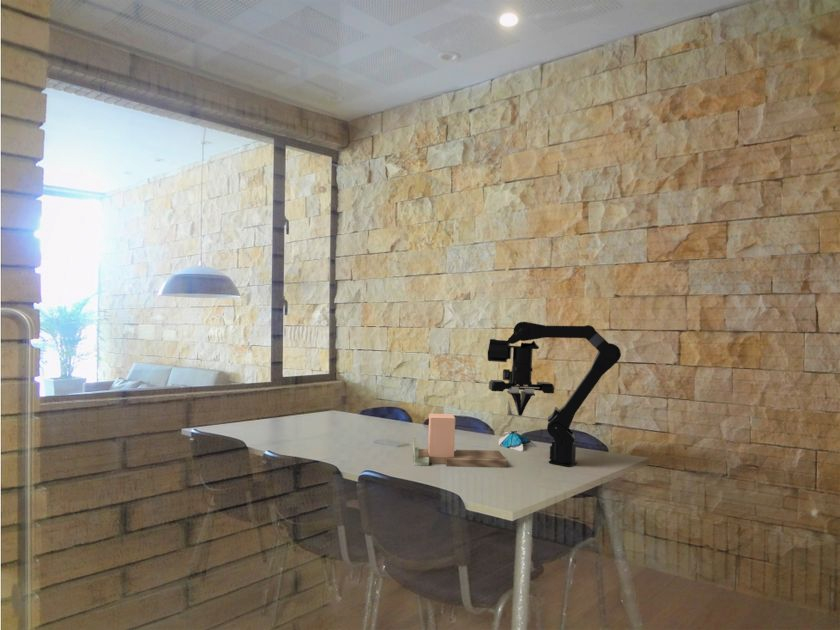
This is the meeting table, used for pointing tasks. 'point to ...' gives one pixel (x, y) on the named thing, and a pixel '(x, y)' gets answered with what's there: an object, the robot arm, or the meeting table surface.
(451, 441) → the block
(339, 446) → the meeting table surface
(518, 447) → the decorative butterfly
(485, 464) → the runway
